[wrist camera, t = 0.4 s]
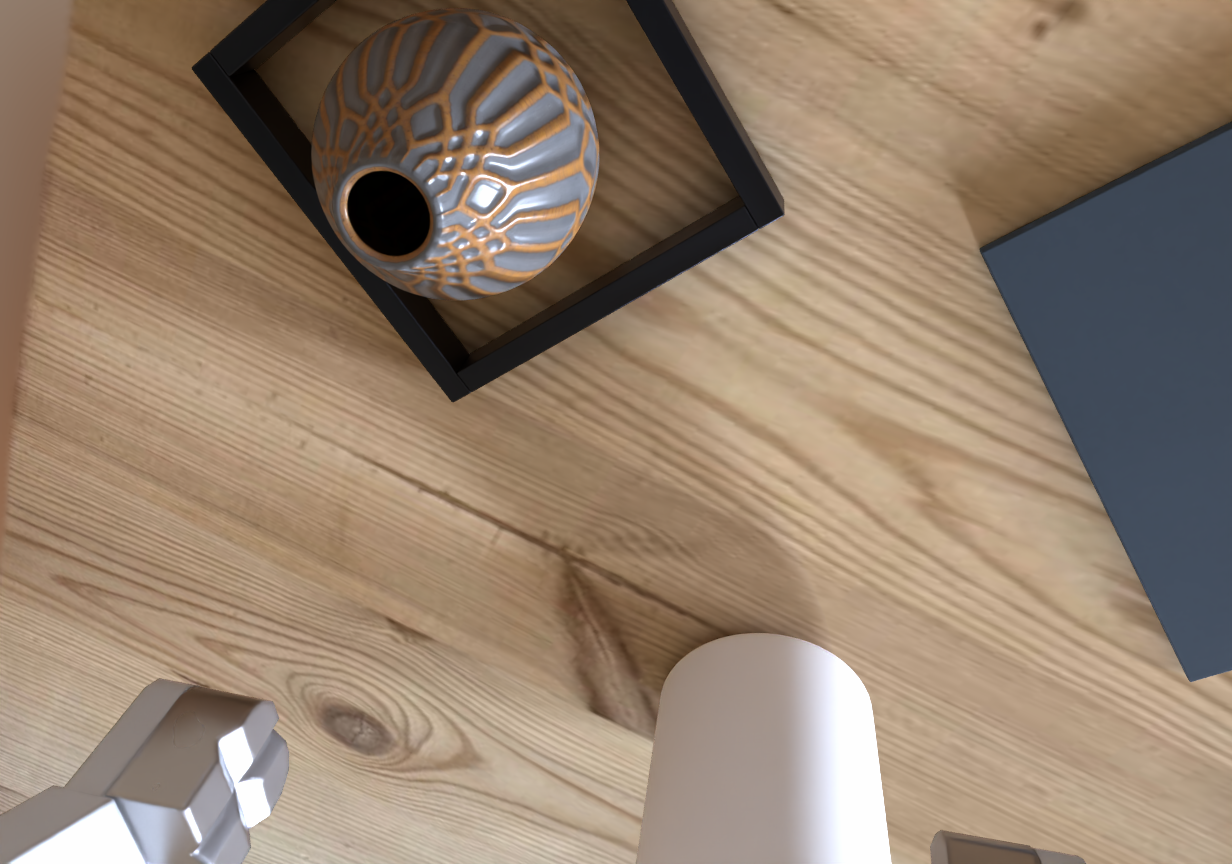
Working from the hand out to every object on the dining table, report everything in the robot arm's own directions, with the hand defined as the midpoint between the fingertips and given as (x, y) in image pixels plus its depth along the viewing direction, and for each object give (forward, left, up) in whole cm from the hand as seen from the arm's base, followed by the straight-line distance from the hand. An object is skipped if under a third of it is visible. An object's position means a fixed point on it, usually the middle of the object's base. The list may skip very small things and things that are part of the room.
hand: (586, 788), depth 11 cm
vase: (-6, -3, -19) cm, 20 cm away
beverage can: (+17, -7, -19) cm, 26 cm away
